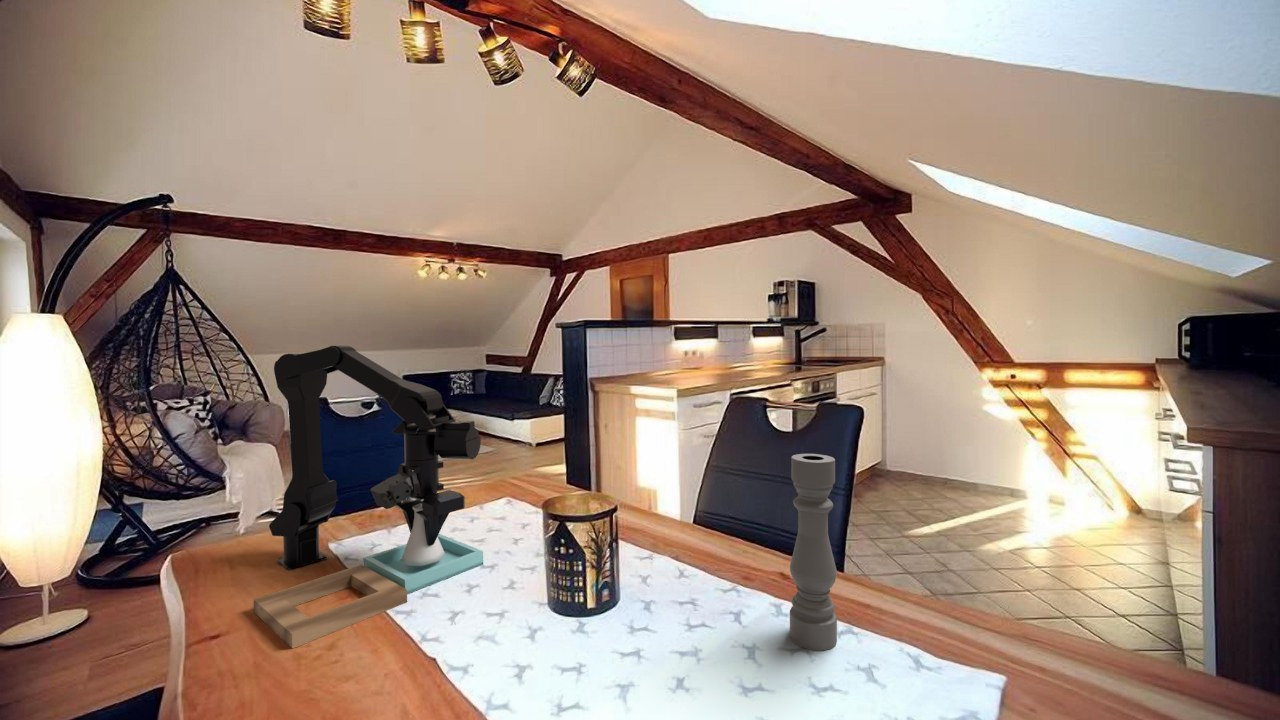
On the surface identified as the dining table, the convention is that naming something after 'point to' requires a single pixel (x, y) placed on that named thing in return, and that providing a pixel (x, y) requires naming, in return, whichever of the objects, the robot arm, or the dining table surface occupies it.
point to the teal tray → (420, 577)
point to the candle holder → (813, 554)
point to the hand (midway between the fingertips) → (423, 541)
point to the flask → (421, 544)
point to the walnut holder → (302, 629)
